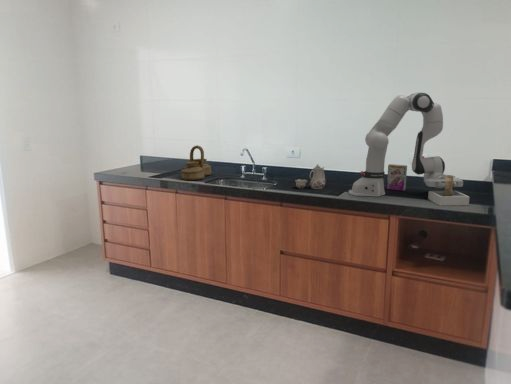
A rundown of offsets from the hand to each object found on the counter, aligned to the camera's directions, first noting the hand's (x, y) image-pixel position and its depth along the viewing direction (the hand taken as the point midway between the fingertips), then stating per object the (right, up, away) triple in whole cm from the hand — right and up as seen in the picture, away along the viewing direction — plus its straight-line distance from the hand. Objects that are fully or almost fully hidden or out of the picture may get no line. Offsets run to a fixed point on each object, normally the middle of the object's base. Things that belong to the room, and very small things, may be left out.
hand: (450, 185), depth 235 cm
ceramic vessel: (-156, +8, +90) cm, 181 cm away
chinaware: (-70, -1, +48) cm, 85 cm away
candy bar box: (-18, -2, +38) cm, 42 cm away
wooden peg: (0, -9, +3) cm, 9 cm away
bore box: (0, -10, +3) cm, 10 cm away
